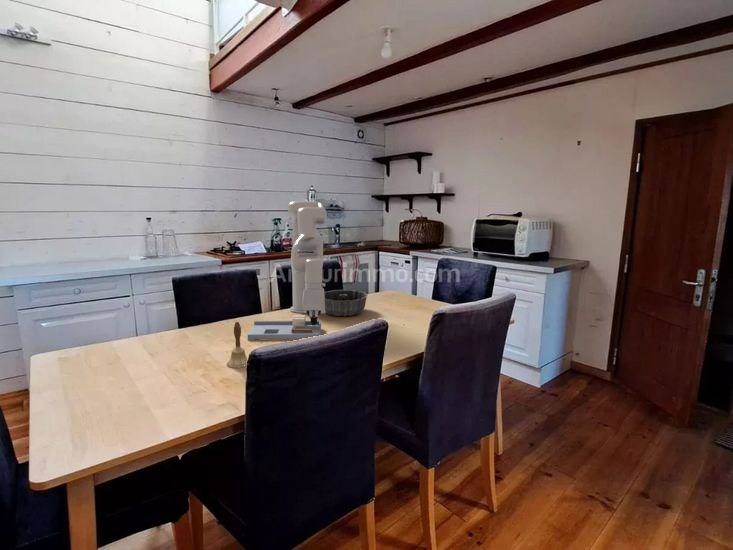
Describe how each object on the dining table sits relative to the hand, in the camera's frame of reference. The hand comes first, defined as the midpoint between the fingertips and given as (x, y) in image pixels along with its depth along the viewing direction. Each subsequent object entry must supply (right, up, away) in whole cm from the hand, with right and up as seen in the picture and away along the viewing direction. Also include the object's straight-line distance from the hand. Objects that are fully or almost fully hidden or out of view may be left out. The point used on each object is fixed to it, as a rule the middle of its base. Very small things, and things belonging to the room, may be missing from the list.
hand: (313, 324), depth 181 cm
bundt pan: (+11, +2, +34) cm, 36 cm away
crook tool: (-4, -2, -8) cm, 10 cm away
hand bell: (-23, -10, -36) cm, 44 cm away
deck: (-12, -4, -4) cm, 13 cm away
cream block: (-7, -1, 0) cm, 7 cm away
